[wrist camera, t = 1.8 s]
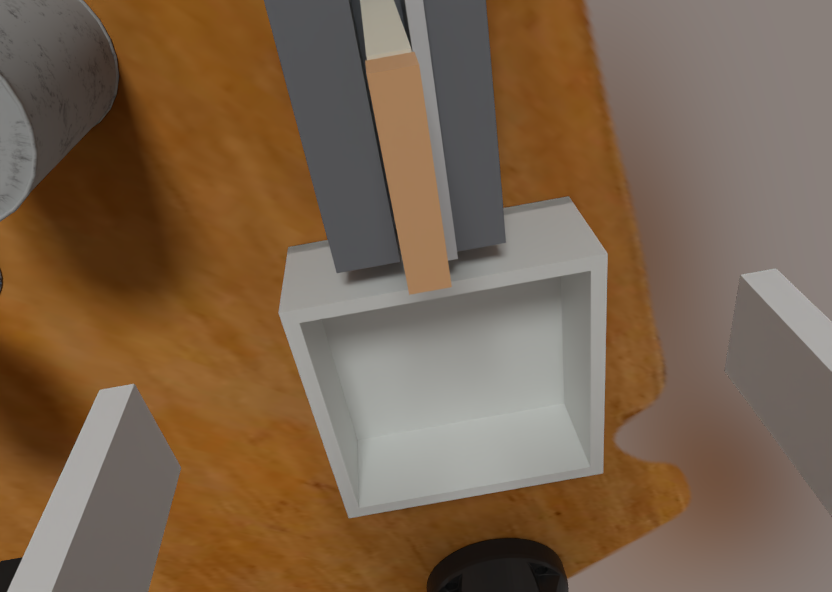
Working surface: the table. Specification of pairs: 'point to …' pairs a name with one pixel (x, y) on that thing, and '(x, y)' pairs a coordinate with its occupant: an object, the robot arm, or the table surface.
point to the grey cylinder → (48, 88)
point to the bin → (456, 364)
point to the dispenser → (357, 132)
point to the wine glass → (0, 281)
